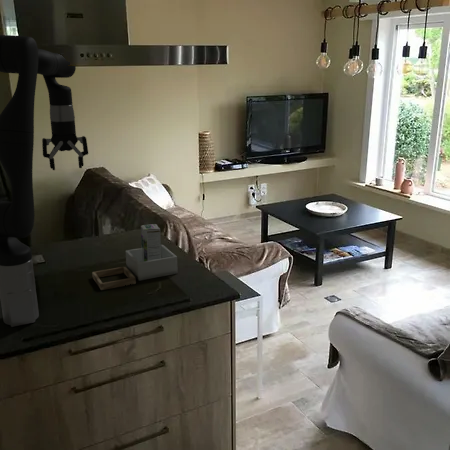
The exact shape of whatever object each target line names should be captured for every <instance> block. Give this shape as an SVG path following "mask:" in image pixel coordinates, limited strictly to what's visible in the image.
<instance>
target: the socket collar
mask: <svg viewBox="0 0 450 450" xmlns="http://www.w3.org/2000/svg"><path fill="white" fill-rule="evenodd" d="M120 274H121V275H122V274H124V275H125V276H126V277H127V278H123V279H117V280H112V281H105V282H103V281H102V280H101V279H100V278H104V277H109V276H115V275H120ZM91 275H92V279H93V280H94V282H95V283H96V285H97V287H98V288H99V289H100V291H105V290H111V289H116V288H120V287H125V285H126V286H130V284H131V285H135V284H136V283H137V281H136V280H137V278H136V277H135V276H134V275H133V274H132V272H131V271H130V270H129V269H128V268H127V266H126V265H125V266H119V267H114V268H108V269H107V268H106V269H101V270H97V271H92V273H91Z"/></svg>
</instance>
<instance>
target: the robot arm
mask: <svg viewBox="0 0 450 450" xmlns="http://www.w3.org/2000/svg"><path fill="white" fill-rule="evenodd" d="M58 53H59V52H58ZM58 53H57V52H52V51H48V50H46V49H43V48H38V44H37V41H36V40H35V39H34V38H33V37H31V36H26V35H12V34H0V73H5V74H16V75H18V77H17V82H16V86H15V87H16V88H15V90H14V93H13V95H12V97H11V99H10V100H9V101H8V103H7V104H6V106H5V107H4V108H3V110H2V111H1V113H0V163H1V166H2V168H3V169H4V171H5V173H6V176H7V177H8V180H9V184H10V186H11V187H10V189H11V201H8V200H7V201H5V200H0V306H1V311H2V320H3V323H4V324H5V325H9V326H10V327H11V328H13V327H18V326H23V325H24V326H25V325H29V324H32V323H35V322H36V320H37V319H39V317H40V313H39V303H38V297H37V290H36V289H37V287H36V279H35V272H34V263H33V255H32V253H33V252H32V249H31V248H30V247H29V245H27V244H24V243H23V242H21V241H20V240H19V239H20V238H21V239H24V238H27V237H29V236H30V234H31V233H32V232H33V229H34V225H35V202H34V201H35V198H34V186H33V184H34V183H33V182H34V181H33V171H34V170H33V166H34V165H33V162H34V159H33V158H34V145H35V144H34V140H35V137H34V136H35V99H36V88H37V80H38V75H41V76H42V77H43V80H44V82H45V86H46V89H47V92H48V101H49V119H50V127H51V138H45V137H43V138H42V140H41V141H42V142H41V144H42V156H43V157H44V158H46V159H49V167H50V169H52V171H56V165H55V159H54V157H55V156H56V154H57V153H58V152H66V151H68V152H70V151H72V150H73V151H74V152H75V153H76V154H77V155H78V156H77V160H78V168H79V169H83V167H84V157H85V156H88V154H89V149H88V142H87V141H88V140H87V137H86V136H85V135H82V136H77V132H76V120H75V119H76V116H75V111H74V105H73V94H72V93H73V92H72V88H71V87H70V86H68V85H63V84H60V83H59V82H58V81H57V79H59V78H61V79H65V78H66V79H67V78H71V77H72V76H73V75H74V74H75V73H76V69H77V68H76V66H68V65H70V62H68V61H66V59H65V58H64V57H63V56H62V55H60V54H58ZM56 78H57V79H56ZM78 141H79V143H81V145H82V149H83V150H82V151H80V150H79V148H78V147H77V146H76V144H77V143H78ZM50 143H51V144H52V145H53V146H54V147H53V148H52V150H51V151H50V153H48V146H49V145H50ZM18 238H19V239H18Z"/></svg>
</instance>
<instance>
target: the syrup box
mask: <svg viewBox="0 0 450 450" xmlns="http://www.w3.org/2000/svg"><path fill="white" fill-rule="evenodd" d="M140 239H141V241H140V242H141V243H140V244H141V245H140V247H141V250H142V262H144V261H150V260H156V259H161V245H162V243H161V228H160V227H159V226H158V224H156V223H154V224H153V223H152V224H151V223H150V224H143V225H140Z"/></svg>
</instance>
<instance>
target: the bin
mask: <svg viewBox="0 0 450 450" xmlns="http://www.w3.org/2000/svg"><path fill="white" fill-rule="evenodd" d="M125 263H126V265H125V267H126V268H127V269H128V270H129V271H130V272H131V273H132V274H133V276H134V277H135V278H136V280H137V281H144V280H149V279H154V278H160V277H161V278H162V277H165V276H170V275H176V274H177V275H178V272H179V271H178V270H179V269H178V256H177V255H176V254H175V253H173V252H172V251H171V250H170V249H168V247H167V246H165V245H164V244H161V259H156V260H150V261H144V262H142V250H141V248H133V249H132V248H131V249H126V250H125Z"/></svg>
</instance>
